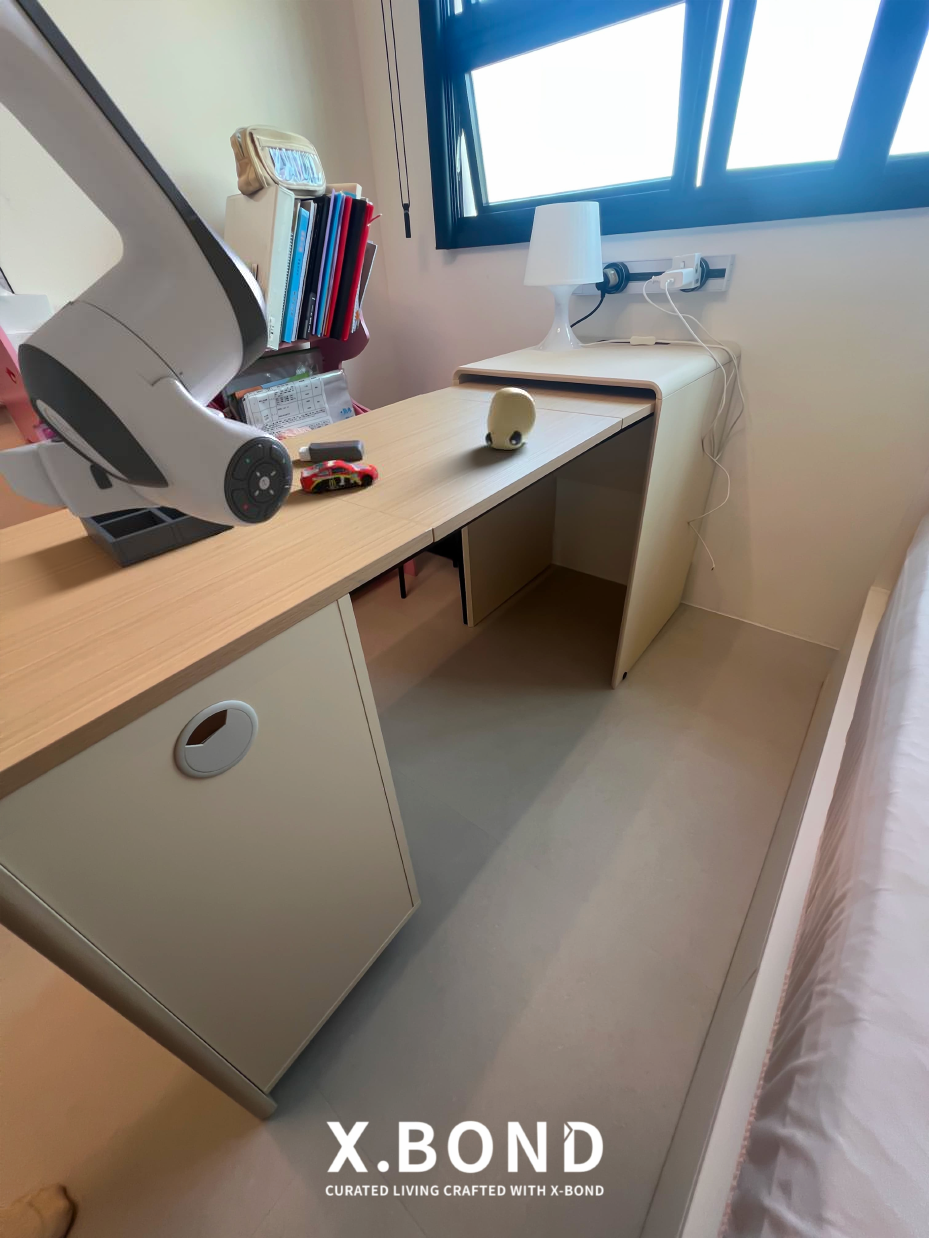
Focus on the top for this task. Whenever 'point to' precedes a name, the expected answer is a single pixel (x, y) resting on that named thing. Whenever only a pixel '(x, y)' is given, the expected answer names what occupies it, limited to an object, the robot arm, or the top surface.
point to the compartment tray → (146, 532)
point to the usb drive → (332, 451)
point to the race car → (336, 475)
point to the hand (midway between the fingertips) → (91, 437)
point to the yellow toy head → (510, 419)
